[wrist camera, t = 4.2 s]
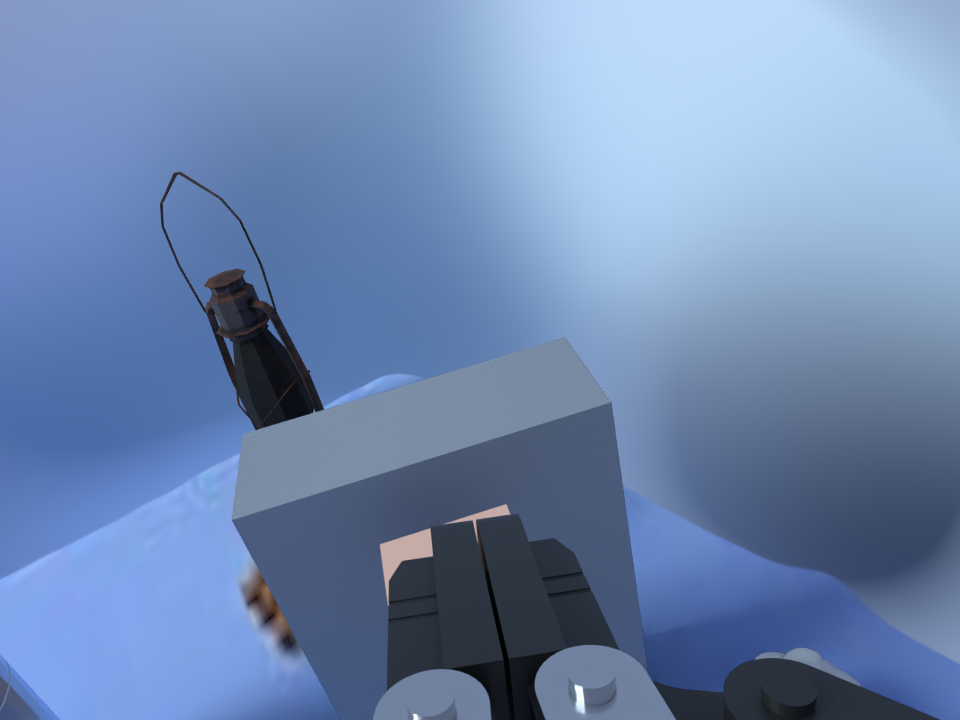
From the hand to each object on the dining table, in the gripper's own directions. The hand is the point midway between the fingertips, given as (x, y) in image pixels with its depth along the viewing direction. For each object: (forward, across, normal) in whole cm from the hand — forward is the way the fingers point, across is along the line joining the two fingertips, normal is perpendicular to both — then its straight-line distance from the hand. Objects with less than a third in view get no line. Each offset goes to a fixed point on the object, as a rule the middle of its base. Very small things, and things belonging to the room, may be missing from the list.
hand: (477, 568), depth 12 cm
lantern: (+58, +14, +21) cm, 63 cm away
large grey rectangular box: (+25, -2, +27) cm, 37 cm away
